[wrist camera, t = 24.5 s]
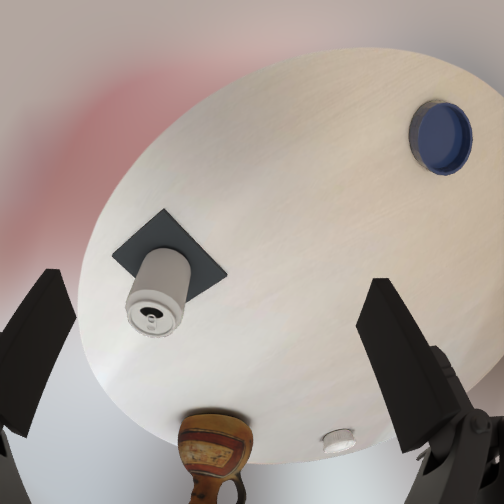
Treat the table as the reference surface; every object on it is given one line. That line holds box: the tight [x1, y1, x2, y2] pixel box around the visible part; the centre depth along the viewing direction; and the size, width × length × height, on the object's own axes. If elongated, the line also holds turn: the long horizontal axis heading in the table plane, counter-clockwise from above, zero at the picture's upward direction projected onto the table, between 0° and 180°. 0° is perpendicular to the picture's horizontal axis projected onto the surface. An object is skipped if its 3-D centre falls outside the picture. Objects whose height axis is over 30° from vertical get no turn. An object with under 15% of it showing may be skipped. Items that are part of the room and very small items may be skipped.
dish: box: [409, 101, 473, 176], centre depth 34 cm, size 11×11×2 cm
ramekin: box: [323, 429, 356, 453], centre depth 81 cm, size 11×11×5 cm
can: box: [125, 248, 191, 338], centre depth 39 cm, size 8×8×12 cm
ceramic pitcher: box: [178, 414, 253, 504], centre depth 60 cm, size 20×20×30 cm
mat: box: [112, 209, 227, 303], centre depth 44 cm, size 14×12×1 cm
